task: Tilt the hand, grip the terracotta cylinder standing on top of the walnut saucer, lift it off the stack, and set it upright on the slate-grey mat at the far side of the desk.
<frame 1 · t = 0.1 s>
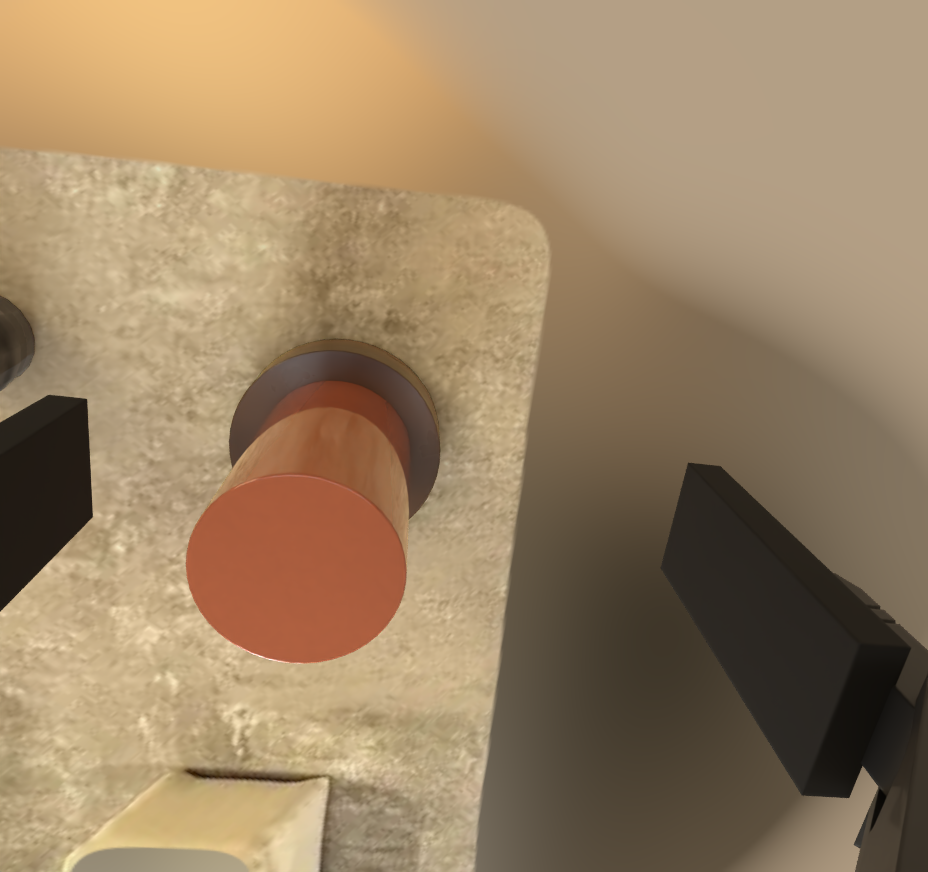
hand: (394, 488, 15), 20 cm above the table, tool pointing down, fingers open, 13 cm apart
terracotta cylinder: (335, 452, 33), point 2 cm above the table, touching saucer
saucer: (341, 435, 36), on the table
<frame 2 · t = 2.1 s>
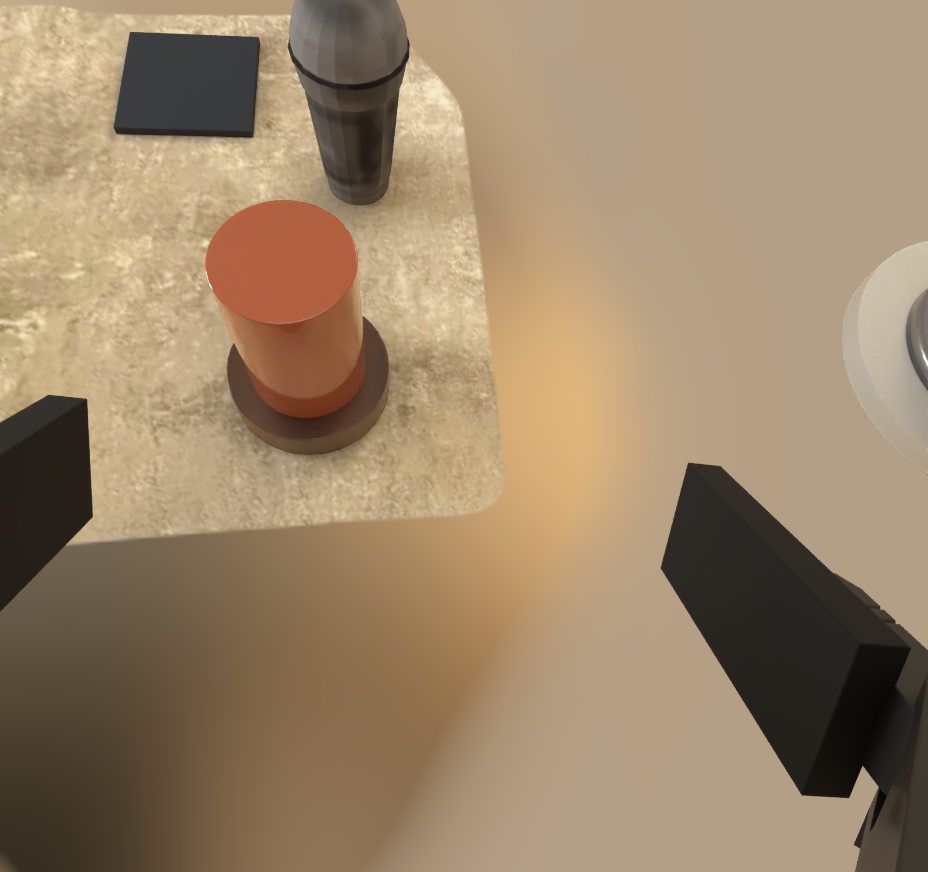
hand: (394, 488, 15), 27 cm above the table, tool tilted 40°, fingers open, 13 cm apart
mat: (191, 86, 55), on the table
beverage cup: (358, 182, 53), on the table
terracotta cylinder: (308, 366, 44), point 2 cm above the table, touching saucer
saucer: (312, 383, 46), on the table
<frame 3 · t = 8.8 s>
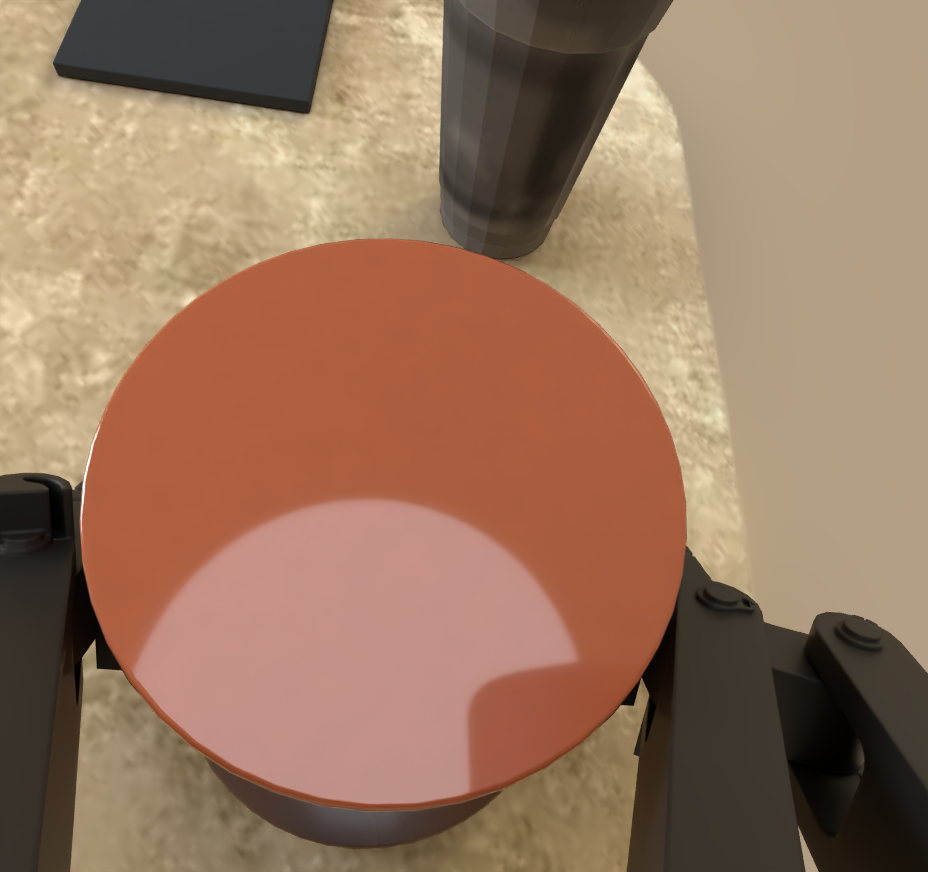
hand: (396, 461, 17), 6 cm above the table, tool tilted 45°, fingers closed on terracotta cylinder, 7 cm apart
mat: (211, 16, 31), on the table
beverage cup: (495, 217, 28), on the table
terracotta cylinder: (378, 628, 18), point 3 cm above the table, touching gripper, saucer
saucer: (376, 643, 21), on the table
when the fingers open (4 cm above the table, at t = 23.1 s): terracotta cylinder stays where it is, resting on mat.
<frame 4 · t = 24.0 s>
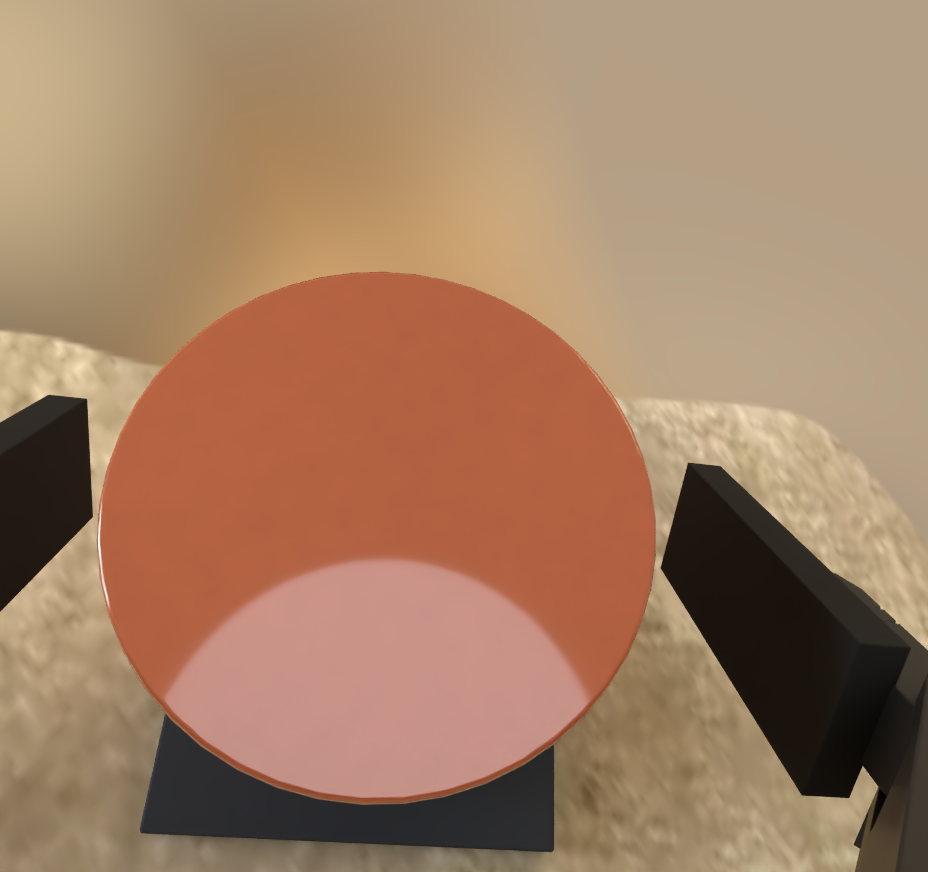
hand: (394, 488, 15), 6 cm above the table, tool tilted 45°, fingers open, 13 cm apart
mat: (374, 635, 20), on the table
terracotta cylinder: (373, 632, 19), point 1 cm above the table, touching mat
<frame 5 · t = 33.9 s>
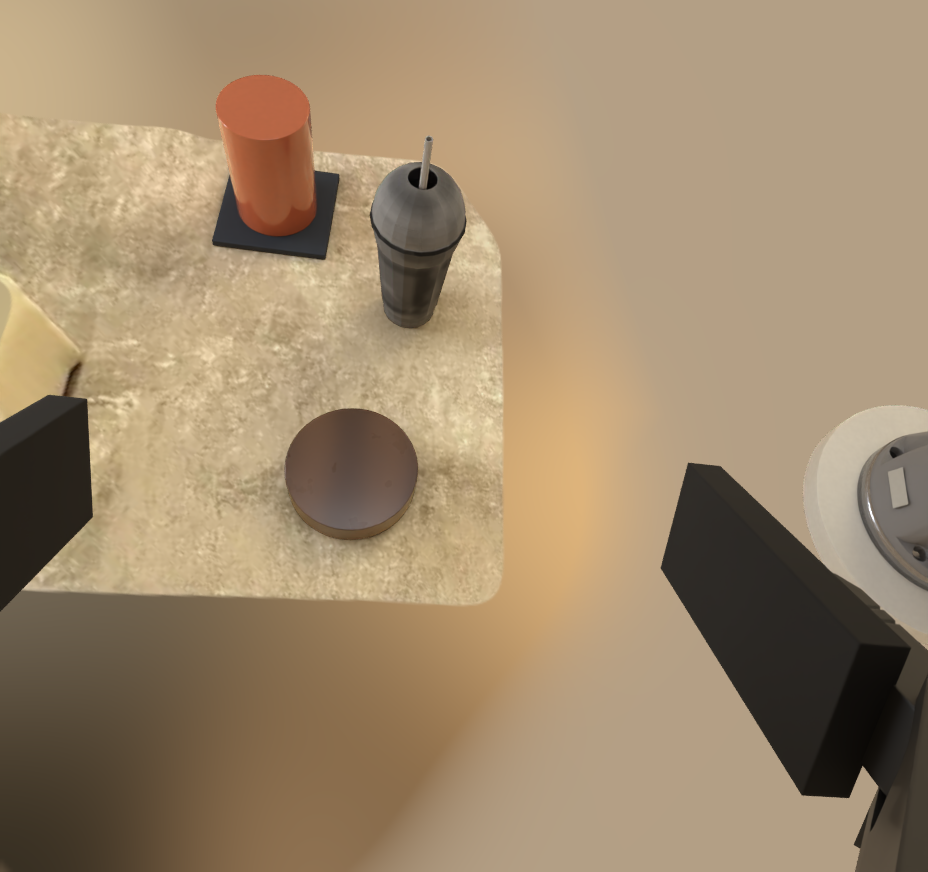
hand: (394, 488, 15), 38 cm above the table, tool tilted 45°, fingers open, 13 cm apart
mat: (278, 210, 65), on the table
beverage cup: (408, 308, 63), on the table
terracotta cylinder: (277, 206, 65), point 1 cm above the table, touching mat
saucer: (352, 478, 55), on the table
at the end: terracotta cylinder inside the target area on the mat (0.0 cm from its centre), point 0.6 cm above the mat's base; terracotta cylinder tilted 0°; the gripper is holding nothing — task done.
